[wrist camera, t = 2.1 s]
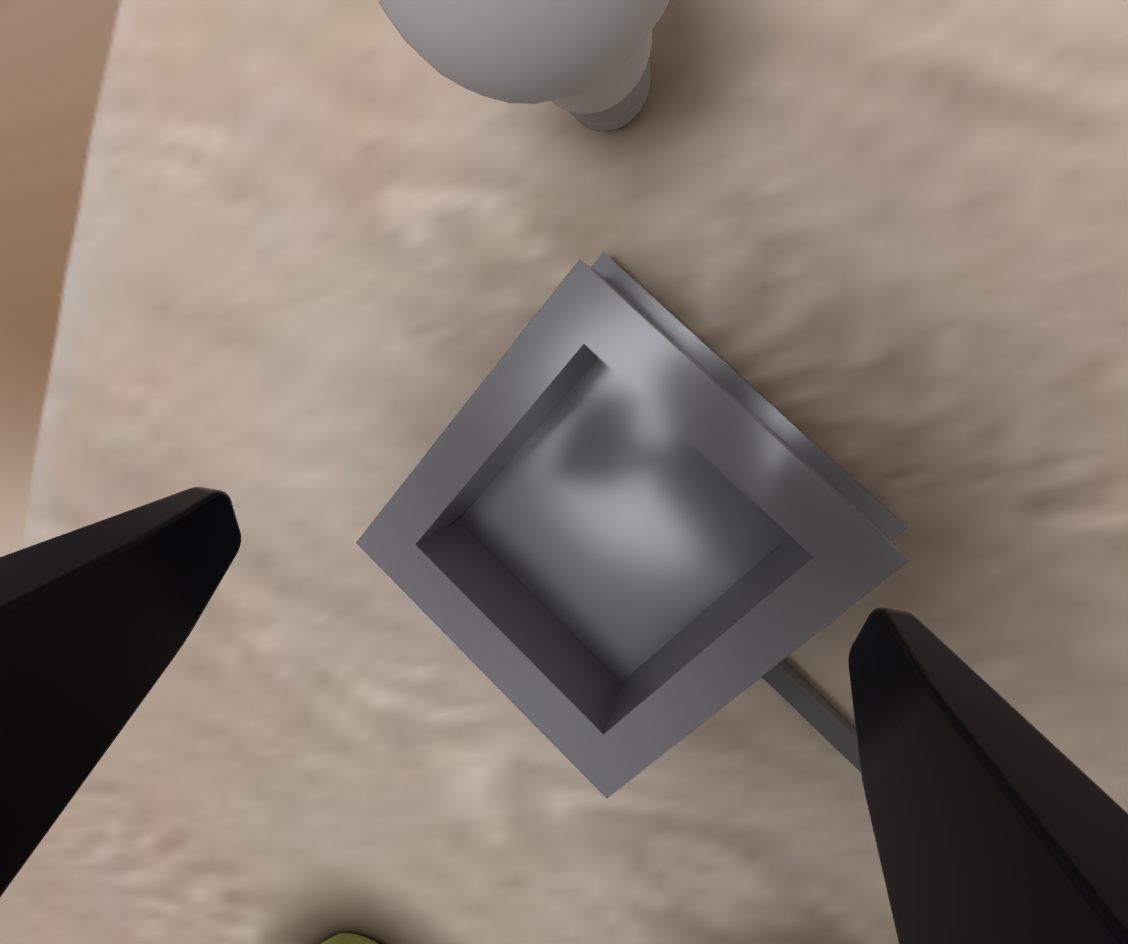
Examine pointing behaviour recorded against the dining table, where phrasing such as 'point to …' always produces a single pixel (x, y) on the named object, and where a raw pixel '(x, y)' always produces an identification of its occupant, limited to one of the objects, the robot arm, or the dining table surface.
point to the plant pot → (348, 939)
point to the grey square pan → (630, 532)
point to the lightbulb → (540, 50)
